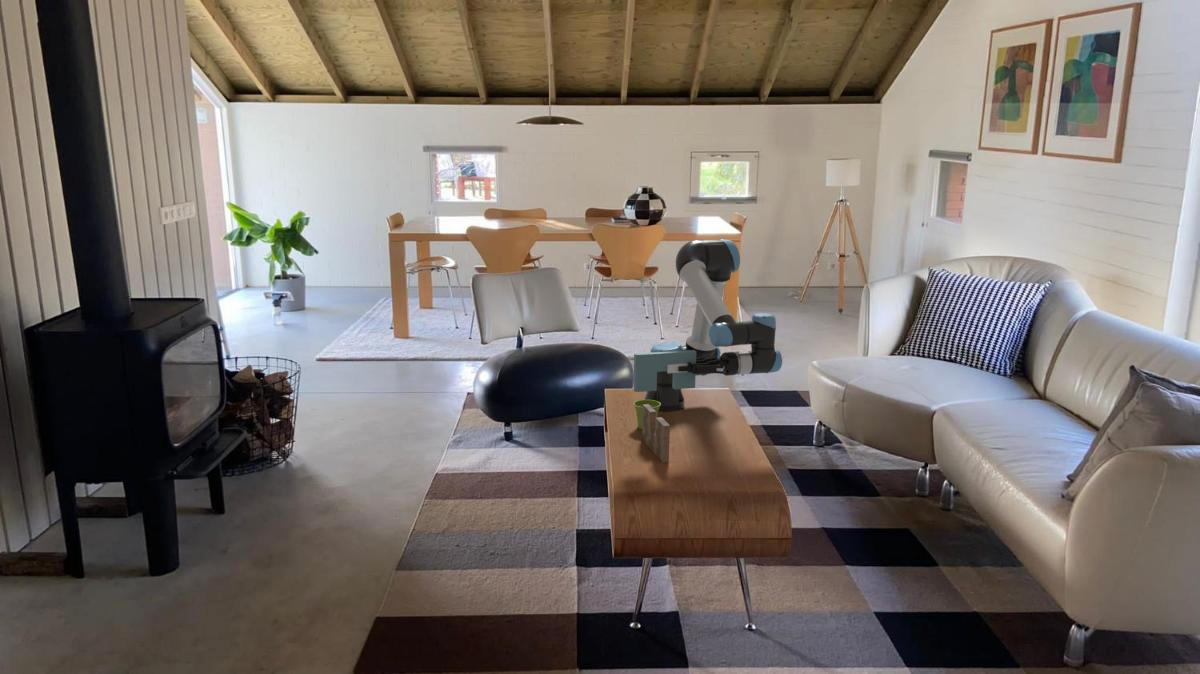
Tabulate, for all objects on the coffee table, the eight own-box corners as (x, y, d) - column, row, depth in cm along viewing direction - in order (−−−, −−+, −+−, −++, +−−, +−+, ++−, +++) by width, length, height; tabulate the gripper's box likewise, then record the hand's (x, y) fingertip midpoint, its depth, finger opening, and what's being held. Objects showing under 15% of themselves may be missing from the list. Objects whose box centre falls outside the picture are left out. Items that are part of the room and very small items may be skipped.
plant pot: (640, 433, 286) (641, 408, 284) (628, 424, 294) (629, 401, 292) (665, 429, 290) (665, 405, 288) (652, 421, 298) (652, 398, 296)
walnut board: (642, 438, 280) (642, 404, 278) (647, 438, 281) (648, 404, 278) (662, 462, 260) (663, 425, 257) (668, 462, 260) (669, 425, 257)
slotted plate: (633, 390, 266) (634, 353, 263) (692, 386, 271) (694, 350, 268) (635, 392, 264) (636, 355, 261) (695, 387, 269) (696, 351, 266)
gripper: (744, 380, 265) (674, 385, 259) (725, 368, 280) (658, 373, 274) (745, 357, 264) (674, 362, 258) (726, 346, 278) (658, 350, 272)
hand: (666, 367), depth 266 cm, fingers closed on slotted plate, 2 cm apart
